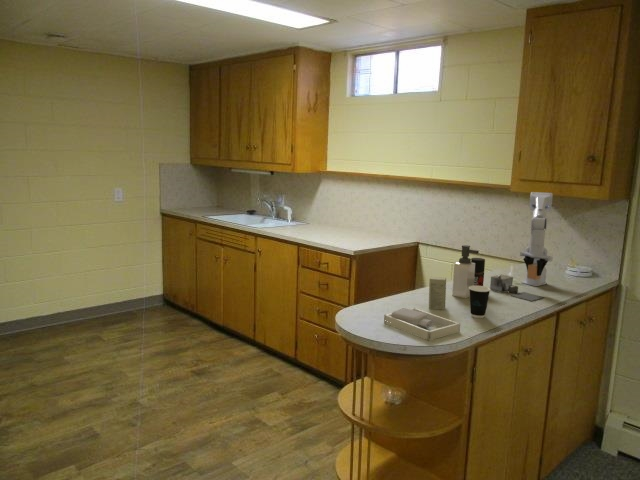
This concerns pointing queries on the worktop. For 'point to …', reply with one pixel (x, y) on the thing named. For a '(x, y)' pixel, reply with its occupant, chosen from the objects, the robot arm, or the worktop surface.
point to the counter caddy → (447, 329)
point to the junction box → (501, 283)
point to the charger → (413, 317)
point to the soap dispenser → (464, 274)
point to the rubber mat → (527, 296)
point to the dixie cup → (478, 300)
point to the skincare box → (437, 293)
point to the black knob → (513, 289)
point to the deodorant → (478, 271)
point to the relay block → (532, 272)
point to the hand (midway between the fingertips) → (534, 274)
